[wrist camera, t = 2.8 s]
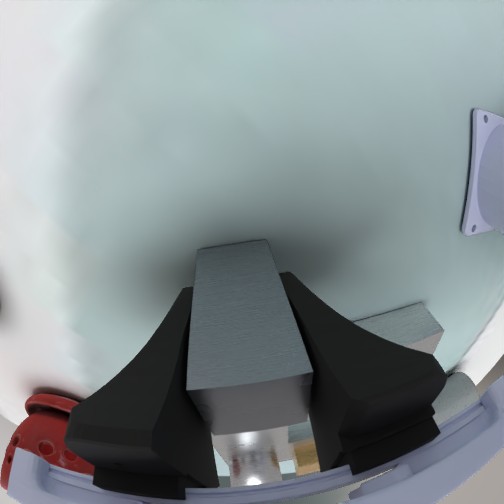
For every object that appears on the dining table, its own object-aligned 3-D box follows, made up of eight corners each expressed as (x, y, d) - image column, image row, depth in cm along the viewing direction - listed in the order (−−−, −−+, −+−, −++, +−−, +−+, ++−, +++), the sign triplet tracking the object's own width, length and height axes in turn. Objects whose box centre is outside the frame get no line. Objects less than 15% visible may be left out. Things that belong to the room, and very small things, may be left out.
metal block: (266, 239, 12) (313, 371, 6) (270, 293, 13) (306, 421, 7) (197, 249, 12) (186, 390, 6) (210, 302, 13) (213, 435, 7)
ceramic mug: (405, 393, 23) (432, 446, 17) (460, 360, 23) (490, 406, 16) (395, 422, 28) (413, 463, 22) (441, 396, 28) (461, 434, 21)
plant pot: (92, 444, 23) (84, 521, 12) (10, 386, 17) (-17, 474, 6) (169, 440, 22) (171, 542, 11) (68, 370, 15) (35, 510, 5)
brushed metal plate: (421, 302, 16) (469, 362, 11) (374, 410, 24) (392, 454, 18) (180, 351, 15) (175, 443, 10) (227, 443, 23) (233, 493, 18)
